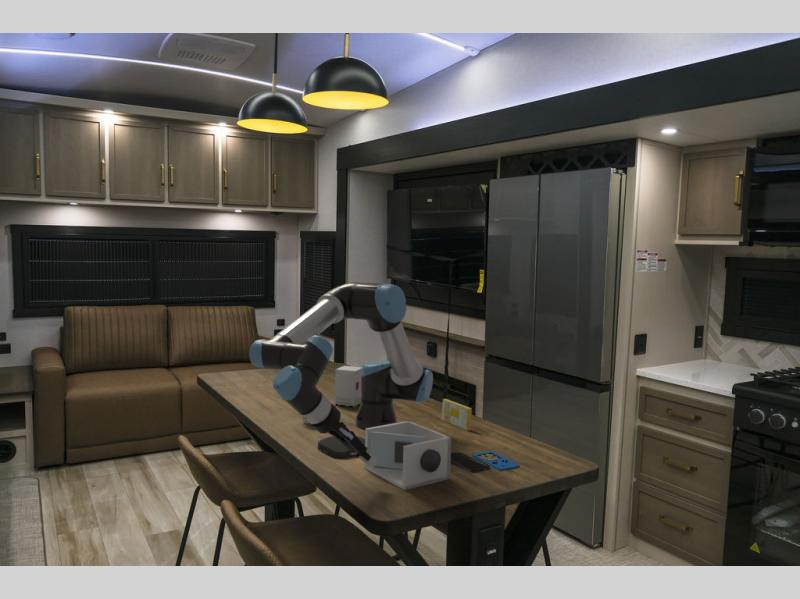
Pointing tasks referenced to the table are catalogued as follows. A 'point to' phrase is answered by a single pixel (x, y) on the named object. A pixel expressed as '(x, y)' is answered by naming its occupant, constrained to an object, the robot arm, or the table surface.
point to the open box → (416, 456)
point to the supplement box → (348, 385)
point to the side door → (390, 448)
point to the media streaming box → (336, 447)
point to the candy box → (456, 414)
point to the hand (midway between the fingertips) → (373, 464)
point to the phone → (467, 462)
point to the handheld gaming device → (497, 461)
